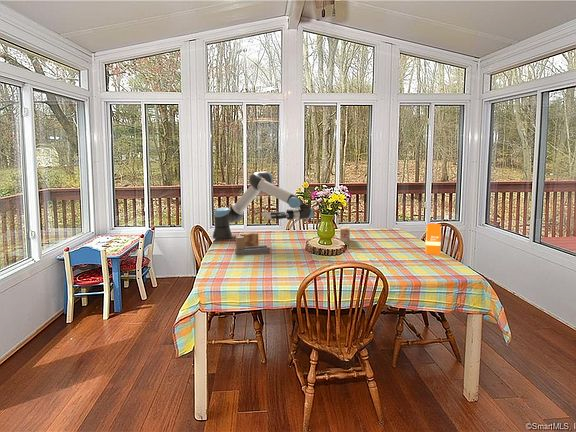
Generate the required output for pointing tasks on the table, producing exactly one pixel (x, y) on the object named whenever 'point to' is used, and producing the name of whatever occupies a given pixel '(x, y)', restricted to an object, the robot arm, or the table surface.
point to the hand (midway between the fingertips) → (264, 216)
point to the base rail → (249, 248)
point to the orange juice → (433, 239)
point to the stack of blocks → (345, 234)
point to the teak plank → (250, 239)
